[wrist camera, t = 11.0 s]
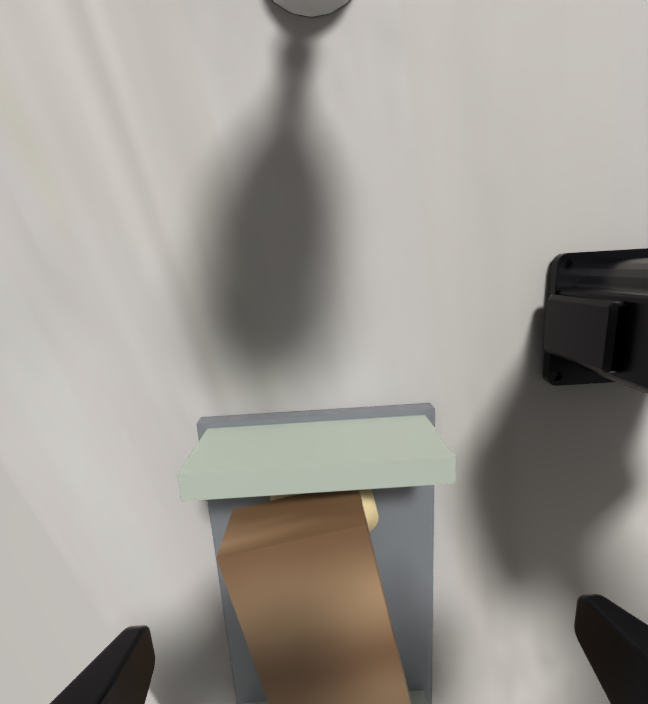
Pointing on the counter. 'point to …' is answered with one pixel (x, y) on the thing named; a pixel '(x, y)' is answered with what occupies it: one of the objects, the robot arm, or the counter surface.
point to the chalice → (311, 6)
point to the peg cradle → (326, 476)
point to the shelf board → (312, 601)
